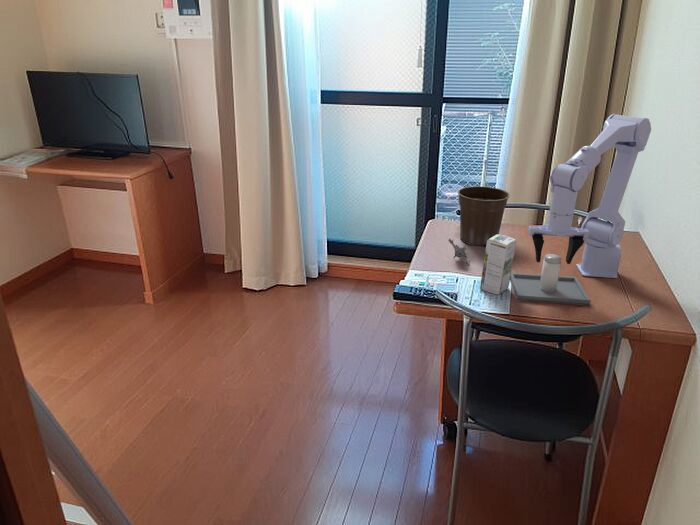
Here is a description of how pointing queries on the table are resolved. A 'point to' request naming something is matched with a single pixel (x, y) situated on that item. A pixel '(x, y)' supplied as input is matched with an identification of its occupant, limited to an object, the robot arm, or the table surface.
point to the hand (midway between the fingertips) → (552, 261)
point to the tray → (564, 294)
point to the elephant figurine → (460, 251)
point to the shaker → (550, 273)
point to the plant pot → (481, 213)
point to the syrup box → (497, 264)
